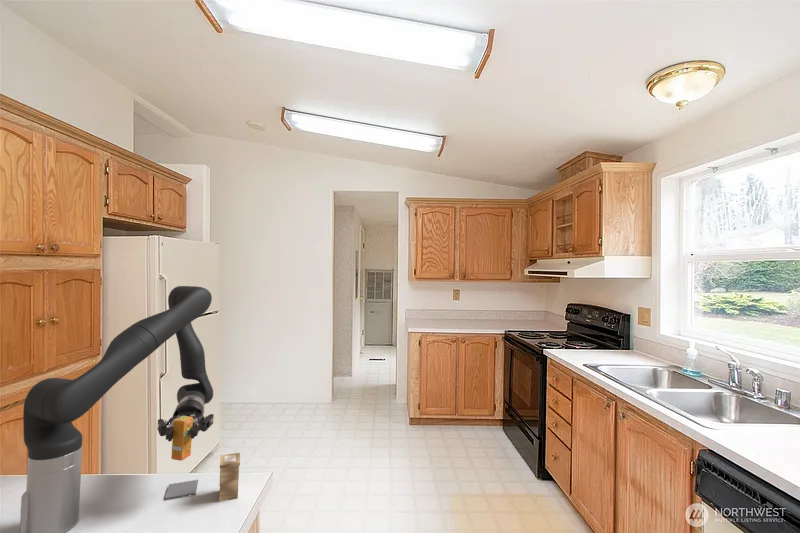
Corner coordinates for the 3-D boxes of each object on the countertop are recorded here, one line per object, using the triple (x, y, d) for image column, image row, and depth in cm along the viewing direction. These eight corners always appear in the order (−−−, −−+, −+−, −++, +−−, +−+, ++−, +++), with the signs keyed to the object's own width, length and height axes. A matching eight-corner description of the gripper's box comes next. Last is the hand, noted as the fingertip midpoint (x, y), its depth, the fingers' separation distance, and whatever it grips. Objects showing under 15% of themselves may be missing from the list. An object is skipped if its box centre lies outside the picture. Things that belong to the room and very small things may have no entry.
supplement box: (182, 461, 97) (183, 421, 97) (170, 459, 98) (172, 419, 98) (192, 455, 101) (193, 416, 101) (180, 453, 101) (182, 415, 101)
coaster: (164, 500, 99) (165, 498, 99) (169, 485, 106) (169, 484, 106) (195, 494, 102) (195, 492, 102) (198, 481, 108) (198, 479, 108)
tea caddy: (218, 502, 99) (219, 464, 99) (219, 490, 105) (220, 454, 105) (238, 498, 101) (240, 462, 101) (238, 486, 106) (239, 452, 107)
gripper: (161, 401, 110) (148, 424, 94) (217, 396, 115) (213, 417, 100) (160, 428, 110) (147, 455, 94) (216, 422, 115) (212, 447, 99)
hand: (181, 436), depth 97 cm, fingers closed on supplement box, 4 cm apart
